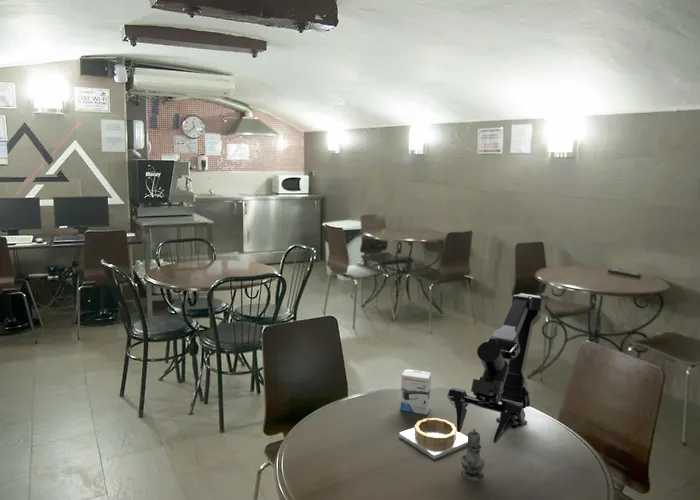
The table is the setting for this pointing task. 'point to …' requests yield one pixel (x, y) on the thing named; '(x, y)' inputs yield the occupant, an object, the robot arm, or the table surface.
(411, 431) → the socket plate
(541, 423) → the table surface
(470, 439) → the grey stone tall piece
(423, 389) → the ink box
